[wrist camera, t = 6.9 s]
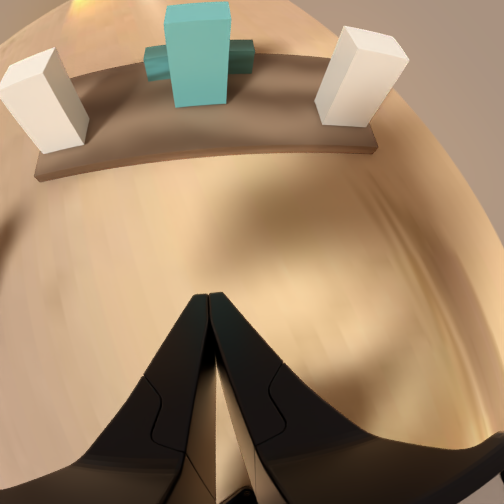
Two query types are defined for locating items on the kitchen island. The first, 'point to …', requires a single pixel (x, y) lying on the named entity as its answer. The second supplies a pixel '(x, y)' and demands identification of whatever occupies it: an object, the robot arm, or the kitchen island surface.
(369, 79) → the grey key
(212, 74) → the teal key
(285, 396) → the robot arm
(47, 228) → the kitchen island surface
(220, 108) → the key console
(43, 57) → the grey key
